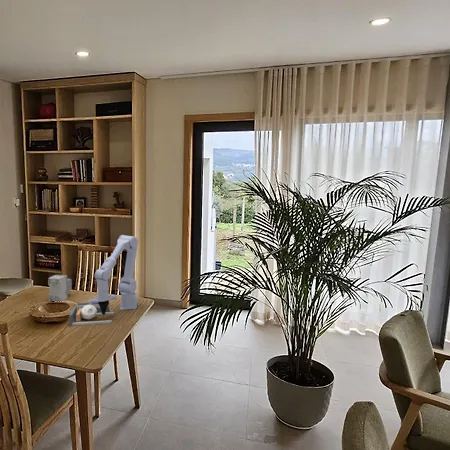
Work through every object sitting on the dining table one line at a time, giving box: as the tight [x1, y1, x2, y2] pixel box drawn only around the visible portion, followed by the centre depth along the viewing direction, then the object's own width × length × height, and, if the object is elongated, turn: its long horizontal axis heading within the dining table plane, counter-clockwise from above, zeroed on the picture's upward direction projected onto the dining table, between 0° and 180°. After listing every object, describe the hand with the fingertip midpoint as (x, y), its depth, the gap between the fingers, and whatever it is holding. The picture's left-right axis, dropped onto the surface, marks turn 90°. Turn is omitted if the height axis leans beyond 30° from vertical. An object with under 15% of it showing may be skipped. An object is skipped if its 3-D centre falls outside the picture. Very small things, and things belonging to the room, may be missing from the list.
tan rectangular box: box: [75, 308, 83, 323], centre depth 173 cm, size 2×8×5 cm, turn 14°
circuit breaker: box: [47, 274, 73, 302], centre depth 203 cm, size 8×14×15 cm, turn 174°
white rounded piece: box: [81, 305, 97, 320], centre depth 175 cm, size 8×8×8 cm
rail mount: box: [68, 301, 115, 327], centre depth 176 cm, size 21×16×6 cm
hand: (103, 313), depth 176 cm, fingers closed
